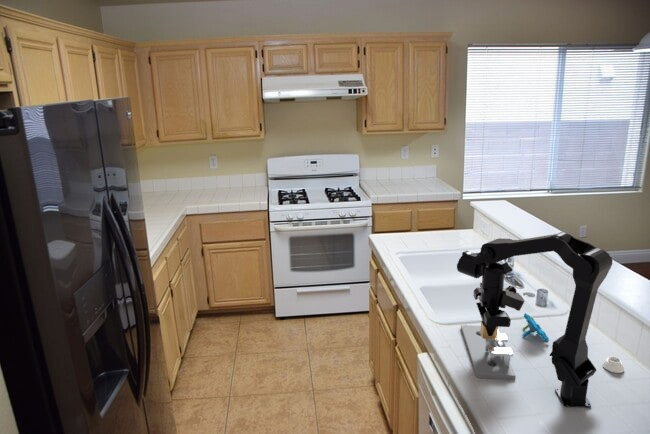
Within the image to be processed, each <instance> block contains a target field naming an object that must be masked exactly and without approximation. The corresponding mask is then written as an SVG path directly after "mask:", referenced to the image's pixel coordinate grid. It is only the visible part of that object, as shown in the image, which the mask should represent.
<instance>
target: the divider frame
mask: <svg viewBox="0 0 650 434" xmlns="http://www.w3.org/2000/svg"><path fill="white" fill-rule="evenodd" d="M497 333H500V331H499V330H498V332H497ZM496 344H497V346H498V347H488V351H489V353H490V364H494V362H495V356H502V365H503V367H509V364H511V357H514V352H513V350H512V348H511V347H507V346H506V343H505V342H496Z"/></svg>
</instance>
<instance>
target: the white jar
mask: <svg viewBox="0 0 650 434" xmlns="http://www.w3.org/2000/svg"><path fill="white" fill-rule="evenodd" d="M602 366H603V368H604V369H606V370H607V371H609V372H611V373H614V374H615V373H616V374H617V373H618V374H620V373H623V372H625V366H624V364H623V363H622V360H621V358H619V357H617V356H613V355H609V356H608V357H607V358H606V359H605V360H604V361H603V362H602Z"/></svg>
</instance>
